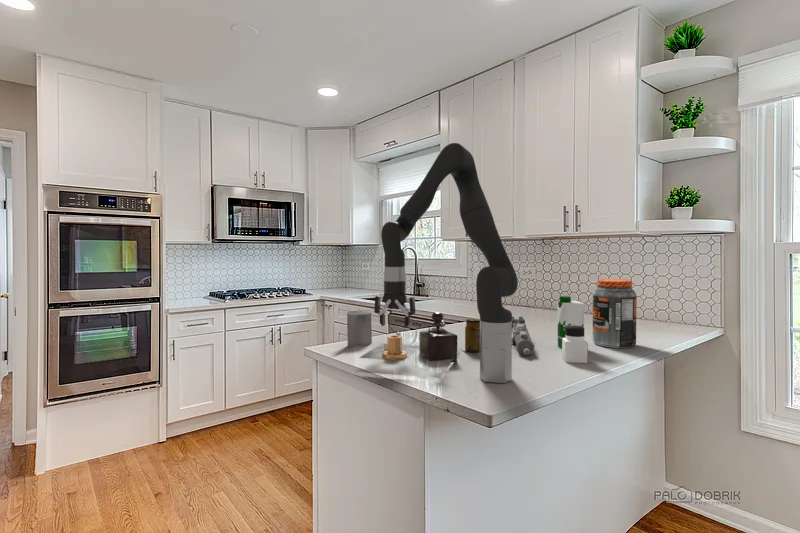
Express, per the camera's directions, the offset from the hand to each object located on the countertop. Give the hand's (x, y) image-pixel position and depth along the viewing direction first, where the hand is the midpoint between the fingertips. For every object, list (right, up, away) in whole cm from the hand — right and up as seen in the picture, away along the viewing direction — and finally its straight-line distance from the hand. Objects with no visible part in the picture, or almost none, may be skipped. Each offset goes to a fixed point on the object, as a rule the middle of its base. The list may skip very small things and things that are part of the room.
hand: (394, 326), depth 151 cm
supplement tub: (+87, -11, +23) cm, 91 cm away
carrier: (-1, -12, +8) cm, 14 cm away
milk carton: (+67, -11, +16) cm, 70 cm away
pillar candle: (-14, -11, +23) cm, 29 cm away
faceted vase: (0, -11, 0) cm, 11 cm away
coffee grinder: (+15, -12, -2) cm, 20 cm away
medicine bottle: (+62, -12, -2) cm, 63 cm away
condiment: (+29, -12, +12) cm, 34 cm away
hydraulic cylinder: (+49, -11, +19) cm, 54 cm away
